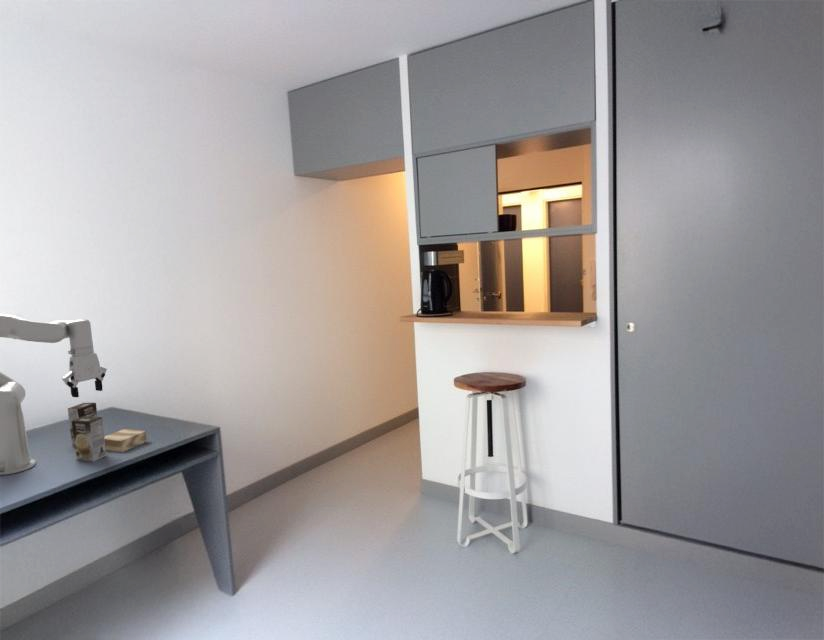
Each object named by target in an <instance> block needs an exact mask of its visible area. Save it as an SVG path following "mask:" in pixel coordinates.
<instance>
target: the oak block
mask: <svg viewBox="0 0 824 640" xmlns="http://www.w3.org/2000/svg"><path fill="white" fill-rule="evenodd" d="M104 440H105V449H106V451H110V450H111V452H116V453H118V452H119V453H123V451H124V452H126V451H128V449H129V450H131V449H133V448H135V447H134V446H136V447H137V445H138V446H139V444H140V445H142V443H143V444H145V443H147V441H148V440H147V431H146V430H139V429H130V428H129V429H128V428H124V429H120V430H118V431H116V432H112V433H109V434H108V435H104ZM144 442H145V443H144ZM132 447H133V448H132ZM130 448H131V449H130ZM125 450H126V451H125Z"/></svg>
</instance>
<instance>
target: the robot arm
mask: <svg viewBox="0 0 824 640" xmlns="http://www.w3.org/2000/svg"><path fill="white" fill-rule="evenodd" d="M0 338H6V339H7V338H8V339H12V340H19V341H25V342H34V343H35V342H36V343H44V344H45V343H46V344H47V343H49V344H55V343H59V342H62V340H65V339H69V345H70V350H68V351H67V354H68V355H70V357H69V365H68V366H69V368H68V369H69V372H68V373H67V374H65V376H63V377H62V378H61V380H62V381H63V383H64V384H65V385H66V386H68V388H70V394H71V396H72V398H79V397H80V395H79V394H80V392H79V387H78V386H77V385H78V384H79V383H80V382H81V383H82V382H86V381H90V380H94V385H95V386H94V387H95V391H97V392H103V381H104V377H105V376H106V373H107V368H105V367H102V366H101V364H100V361H99V357H98V355H97V352H95V351H94V343H93V342H94V341H93V335H92V325H91V321H90V320H89V319H84V318H83V319H74V320H54V321H53V320H52V321H51V322H46V321H45V322H44V321H35V320H34V321H33V320H28V319H24V318H21V317H19V316H17V315H12V314H4V313H3V314H2V313H0ZM25 397H26V390H25V388H24V387H23V385H22V384H21V383H19V382H18V381H16V380H14V379H13V378H11V377H9V376H7V375H6V374H5V373H3V372H1V371H0V476H1V475H2V476H5V475H6V476H7V475H13V474H16V473H21V472H24V471H27V470H29V469H31V468H33V467H34V466H35V465H36V464H37V463H36V460H35V459H33V458H30V450H29V443H28V436H27V430H26V423H25V417H24V413H23V410H22V402H24V399H25Z"/></svg>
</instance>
